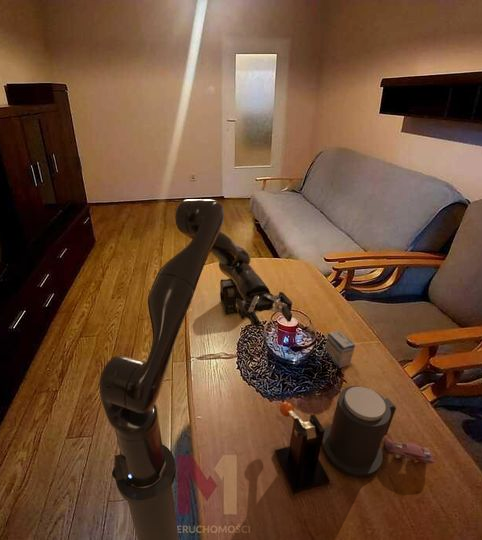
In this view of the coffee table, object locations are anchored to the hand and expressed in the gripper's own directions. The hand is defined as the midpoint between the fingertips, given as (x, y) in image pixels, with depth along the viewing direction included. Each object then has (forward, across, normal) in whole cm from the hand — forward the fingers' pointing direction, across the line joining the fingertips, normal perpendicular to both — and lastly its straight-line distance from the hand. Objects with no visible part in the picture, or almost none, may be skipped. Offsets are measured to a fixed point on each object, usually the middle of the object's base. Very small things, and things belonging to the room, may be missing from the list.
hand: (274, 321), depth 87 cm
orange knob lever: (+17, 0, +18) cm, 25 cm away
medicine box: (-9, +28, +28) cm, 41 cm away
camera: (-46, +6, +28) cm, 54 cm away
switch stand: (+21, 0, +28) cm, 35 cm away
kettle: (+20, +14, +28) cm, 37 cm away
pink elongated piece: (+25, +26, +28) cm, 46 cm away
